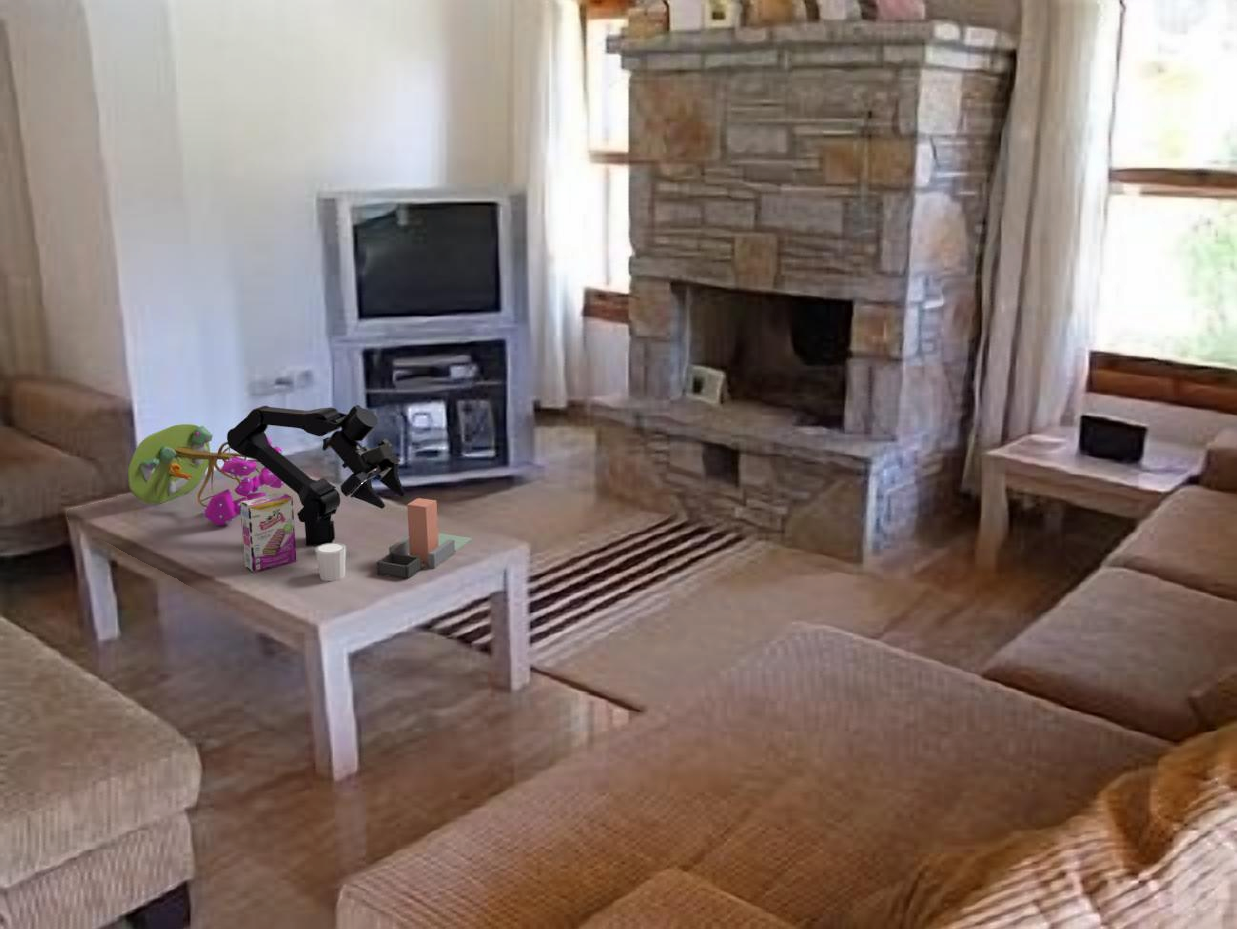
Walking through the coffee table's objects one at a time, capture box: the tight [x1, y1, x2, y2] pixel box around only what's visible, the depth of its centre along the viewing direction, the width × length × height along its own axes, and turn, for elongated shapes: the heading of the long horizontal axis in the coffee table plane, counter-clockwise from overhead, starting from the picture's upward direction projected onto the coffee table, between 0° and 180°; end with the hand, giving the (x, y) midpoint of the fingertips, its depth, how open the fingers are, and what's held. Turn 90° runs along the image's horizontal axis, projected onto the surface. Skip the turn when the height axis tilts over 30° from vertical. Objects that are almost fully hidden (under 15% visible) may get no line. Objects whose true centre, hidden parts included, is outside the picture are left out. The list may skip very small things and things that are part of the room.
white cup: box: [314, 542, 347, 582], centre depth 265 cm, size 7×7×7 cm
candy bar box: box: [240, 492, 297, 573], centre depth 270 cm, size 11×5×16 cm, turn 133°
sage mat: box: [438, 532, 474, 552], centre depth 287 cm, size 10×9×1 cm
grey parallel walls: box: [388, 534, 456, 569], centre depth 277 cm, size 12×10×4 cm
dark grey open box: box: [376, 553, 423, 580], centre depth 269 cm, size 8×6×3 cm
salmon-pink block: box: [406, 497, 439, 564], centre depth 276 cm, size 5×5×14 cm
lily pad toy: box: [127, 423, 285, 527], centre depth 306 cm, size 30×28×35 cm
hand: (394, 501), depth 276 cm, fingers open, 9 cm apart
